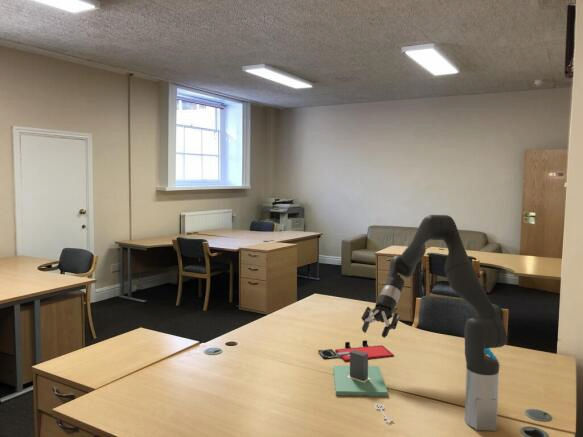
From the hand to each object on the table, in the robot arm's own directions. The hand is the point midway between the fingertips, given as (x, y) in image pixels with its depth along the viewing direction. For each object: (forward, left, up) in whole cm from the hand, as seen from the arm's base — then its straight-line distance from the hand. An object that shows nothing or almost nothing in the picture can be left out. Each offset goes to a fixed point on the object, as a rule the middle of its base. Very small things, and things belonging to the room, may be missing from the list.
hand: (373, 334), depth 175 cm
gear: (+15, -50, -16) cm, 54 cm away
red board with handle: (+20, +5, -16) cm, 26 cm away
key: (-31, 0, -16) cm, 35 cm away
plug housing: (-8, +6, -14) cm, 17 cm away
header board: (-8, +6, -16) cm, 19 cm away
